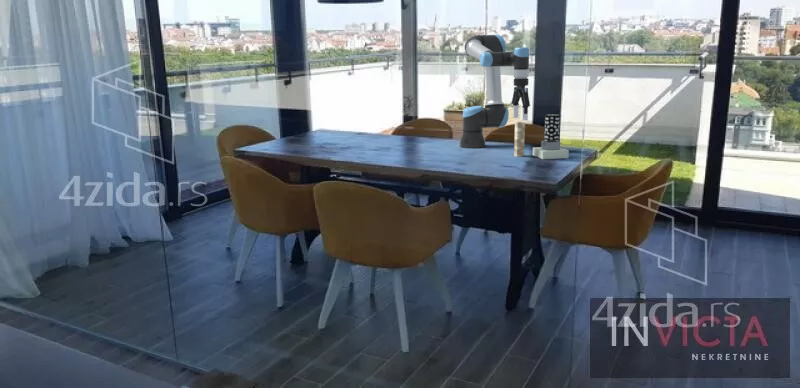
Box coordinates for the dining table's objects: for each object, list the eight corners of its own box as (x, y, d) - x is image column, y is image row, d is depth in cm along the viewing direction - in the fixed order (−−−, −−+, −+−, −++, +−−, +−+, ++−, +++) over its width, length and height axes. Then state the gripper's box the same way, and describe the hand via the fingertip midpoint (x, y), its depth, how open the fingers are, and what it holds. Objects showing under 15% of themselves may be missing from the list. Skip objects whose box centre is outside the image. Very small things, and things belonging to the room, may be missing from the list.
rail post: (516, 156, 329) (517, 122, 325) (514, 155, 333) (514, 121, 329) (523, 156, 330) (524, 122, 326) (521, 155, 334) (522, 121, 330)
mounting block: (542, 159, 320) (542, 151, 319) (532, 154, 334) (532, 147, 333) (568, 158, 322) (568, 150, 321) (557, 153, 336) (557, 146, 335)
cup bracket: (546, 150, 323) (546, 142, 322) (540, 148, 330) (541, 140, 329) (560, 149, 324) (560, 142, 323) (554, 147, 331) (554, 140, 330)
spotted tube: (559, 150, 348) (561, 114, 344) (558, 152, 340) (559, 115, 336) (544, 149, 351) (545, 114, 346) (542, 151, 343) (544, 115, 339)
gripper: (537, 78, 311) (535, 120, 315) (519, 77, 335) (518, 116, 339) (522, 78, 310) (521, 121, 314) (506, 77, 334) (505, 117, 338)
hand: (520, 119), depth 327 cm, fingers open, 13 cm apart
